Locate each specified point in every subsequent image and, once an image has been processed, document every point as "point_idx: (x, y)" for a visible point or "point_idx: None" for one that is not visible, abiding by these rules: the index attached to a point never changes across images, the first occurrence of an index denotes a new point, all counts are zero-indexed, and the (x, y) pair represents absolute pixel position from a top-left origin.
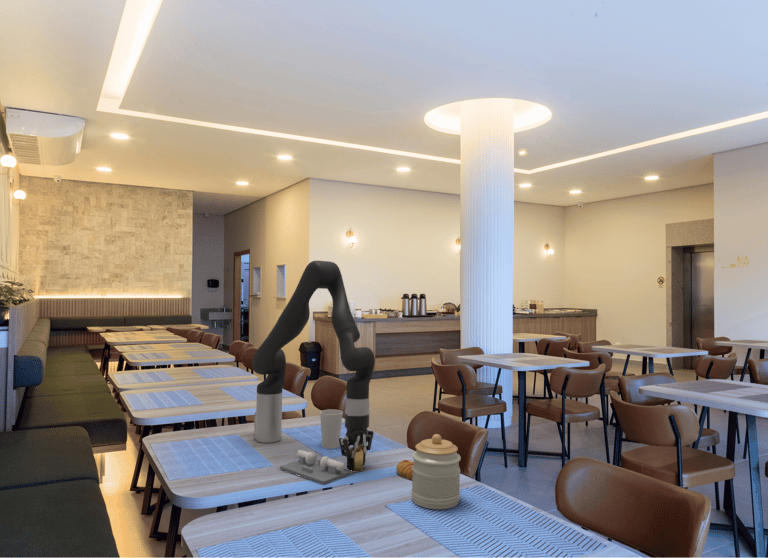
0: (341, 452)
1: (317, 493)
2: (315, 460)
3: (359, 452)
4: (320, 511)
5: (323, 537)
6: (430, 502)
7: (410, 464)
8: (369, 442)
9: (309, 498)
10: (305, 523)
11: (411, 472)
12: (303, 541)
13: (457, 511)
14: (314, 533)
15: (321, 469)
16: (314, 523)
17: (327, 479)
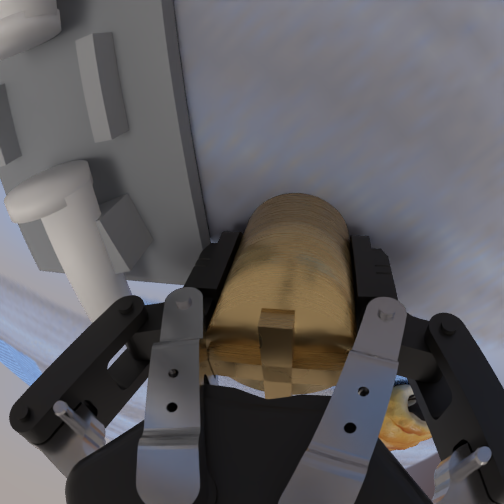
0: (98, 320)
1: (24, 288)
2: (60, 26)
3: (259, 386)
4: (26, 342)
5: (27, 375)
6: None
7: (388, 448)
8: (430, 426)
9: (7, 291)
10: (5, 342)
11: None
12: (6, 360)
13: None
14: (17, 363)
15: (68, 138)
16: (17, 352)
17: (54, 268)
